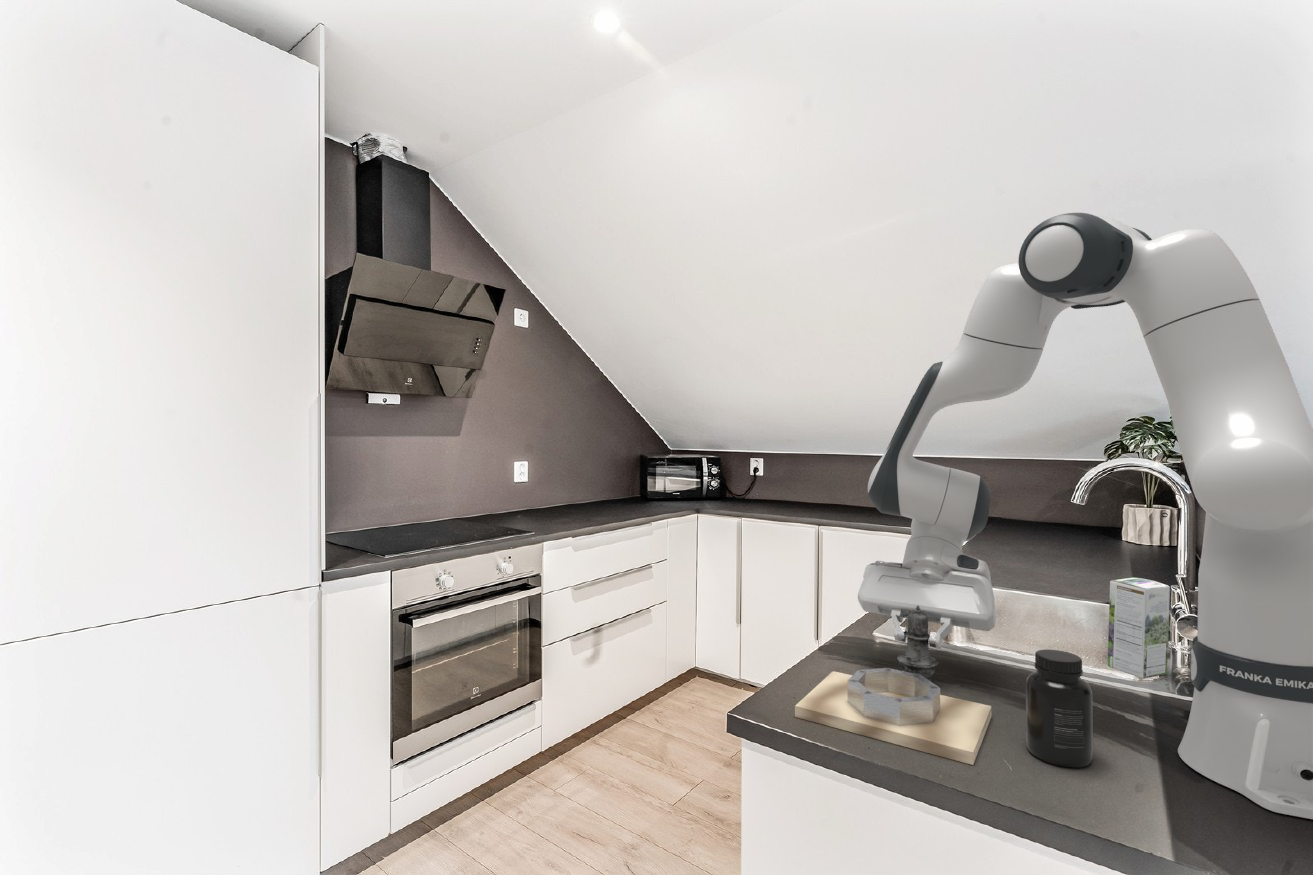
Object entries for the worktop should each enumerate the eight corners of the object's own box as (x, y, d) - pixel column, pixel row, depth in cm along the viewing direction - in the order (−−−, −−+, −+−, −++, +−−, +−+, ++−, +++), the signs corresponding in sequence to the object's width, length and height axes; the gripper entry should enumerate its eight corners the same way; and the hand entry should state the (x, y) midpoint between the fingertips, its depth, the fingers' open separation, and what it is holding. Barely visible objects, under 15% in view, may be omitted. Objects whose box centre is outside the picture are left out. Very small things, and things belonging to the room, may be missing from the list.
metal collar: (945, 701, 89) (945, 679, 89) (927, 733, 80) (927, 709, 80) (864, 683, 95) (864, 663, 95) (839, 710, 86) (839, 688, 86)
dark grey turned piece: (932, 694, 95) (933, 613, 95) (892, 684, 99) (892, 606, 98) (942, 681, 100) (943, 604, 99) (903, 672, 103) (904, 598, 103)
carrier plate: (991, 717, 88) (991, 706, 87) (973, 765, 75) (973, 752, 75) (832, 680, 100) (832, 671, 100) (794, 716, 88) (794, 705, 88)
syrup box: (1130, 662, 108) (1131, 575, 107) (1169, 675, 102) (1170, 584, 102) (1106, 667, 106) (1107, 578, 105) (1145, 680, 100) (1146, 587, 100)
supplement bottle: (1098, 754, 78) (1099, 655, 77) (1084, 776, 73) (1085, 671, 73) (1034, 735, 82) (1035, 642, 82) (1017, 754, 78) (1018, 655, 77)
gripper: (863, 549, 110) (844, 620, 103) (998, 563, 99) (988, 645, 91) (871, 570, 114) (853, 640, 106) (1001, 586, 102) (992, 666, 95)
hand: (916, 642), depth 98 cm, fingers closed on dark grey turned piece, 4 cm apart
